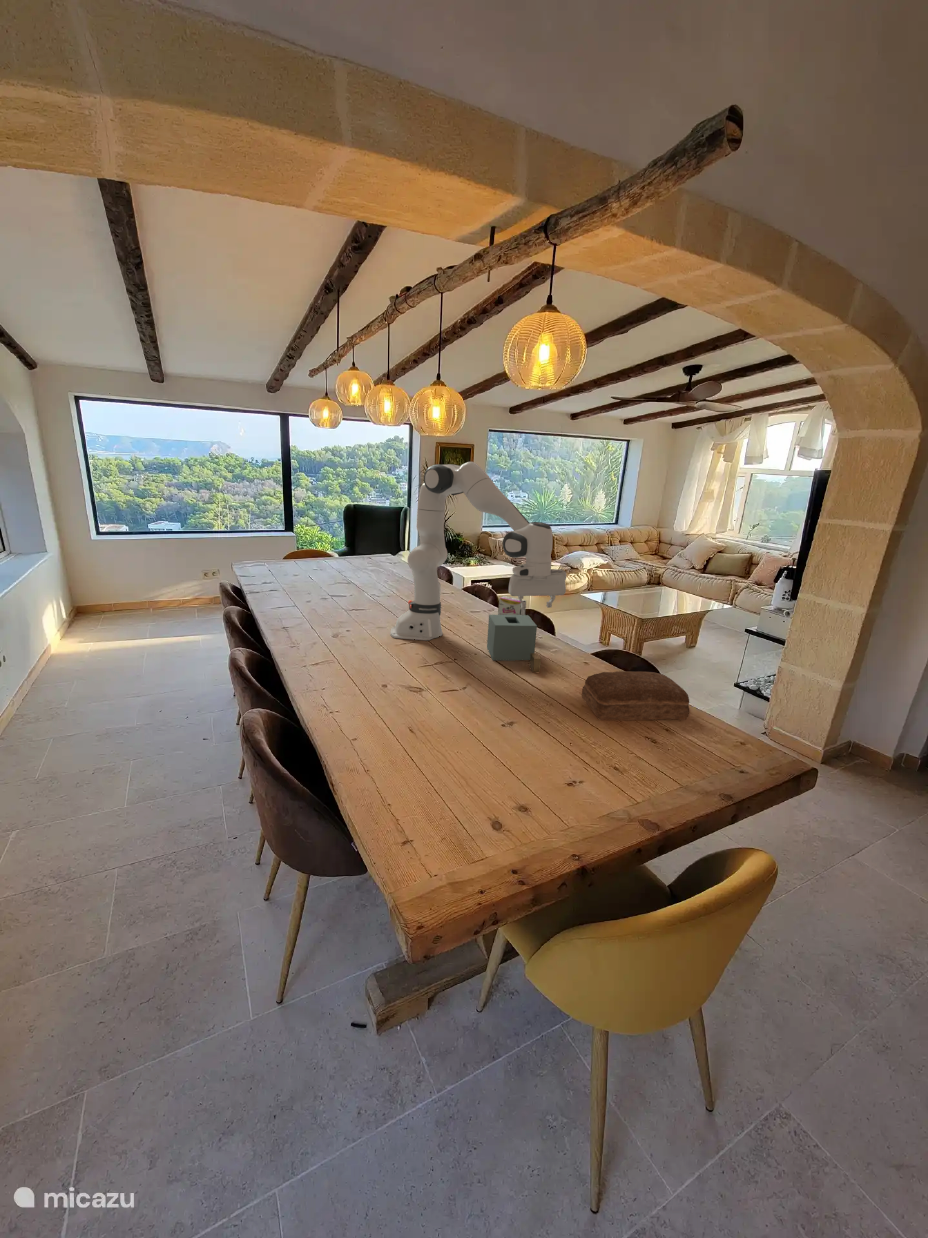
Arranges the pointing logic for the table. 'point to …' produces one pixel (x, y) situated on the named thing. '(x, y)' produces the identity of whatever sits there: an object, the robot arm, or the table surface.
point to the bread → (635, 696)
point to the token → (535, 662)
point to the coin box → (511, 637)
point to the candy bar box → (510, 606)
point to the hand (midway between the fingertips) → (536, 607)
